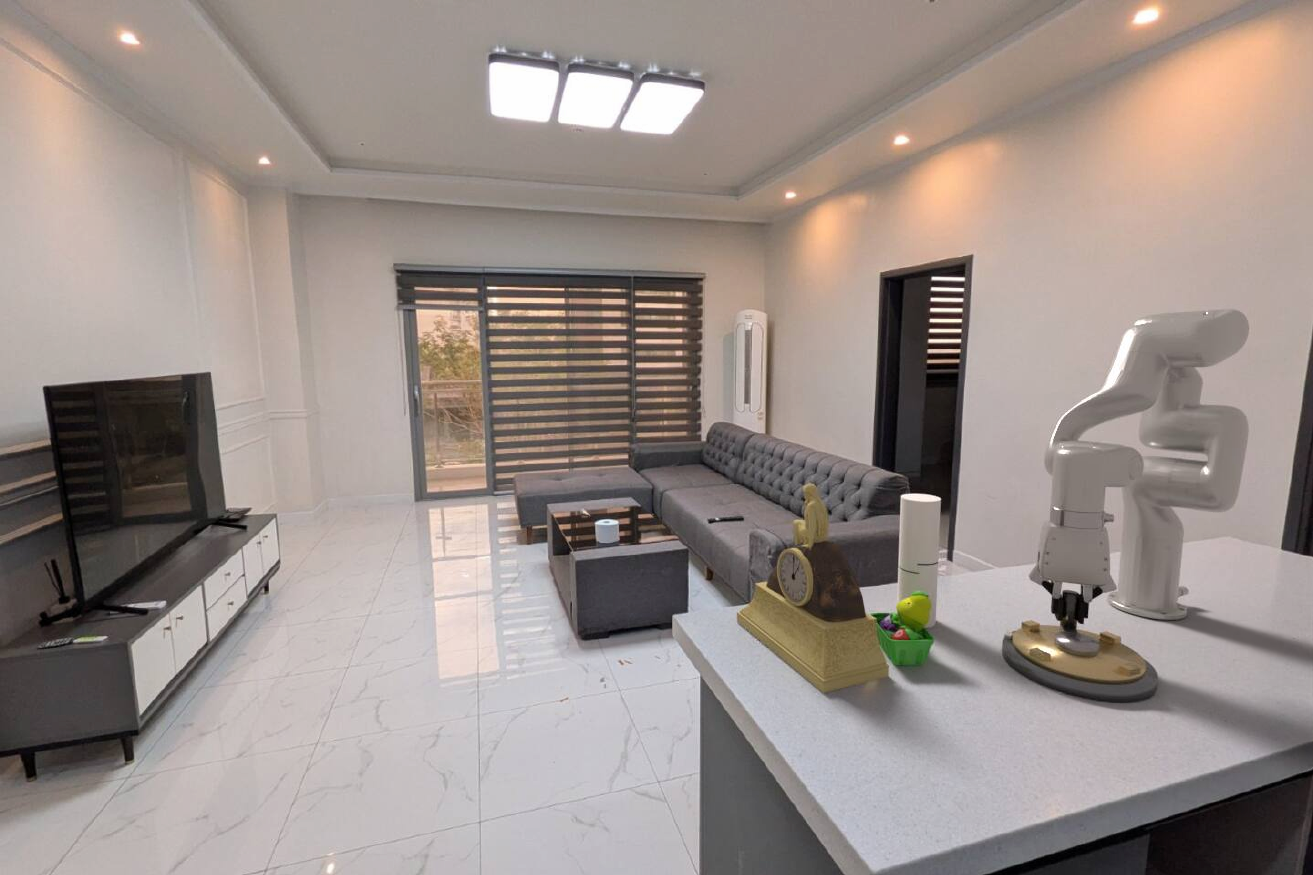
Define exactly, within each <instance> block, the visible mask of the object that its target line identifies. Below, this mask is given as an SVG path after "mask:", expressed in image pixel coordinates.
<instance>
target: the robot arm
mask: <svg viewBox="0 0 1313 875" xmlns="http://www.w3.org/2000/svg"><path fill="white" fill-rule="evenodd" d="M1249 324H1250V323H1249V320H1248V318H1247V317H1246V315H1245V314H1244V313H1243V312H1242V311H1240V310H1238V309H1235V308H1234V309H1233V308H1231V309H1230V308H1227V309H1225V308H1223V309H1212V310H1211V309H1209V310H1198V311H1197V310H1195V311H1194V310H1193V311H1178V312H1166V313H1158V314H1157V313H1156V314H1150V315H1147V316H1143V317H1140V318H1138V319H1136V320H1135V321H1134V322H1133V323H1132V324H1131V326H1130V327H1129V328H1127V329H1126V330H1125V331H1124V332H1123V333H1122V335H1121V337H1120V338H1119V340H1118V343H1117V346H1116V348H1115V350H1114V354H1113V355H1112V358H1111V360H1110V363H1109V366H1108V367H1107V370H1106V374H1105V375H1104V377H1103V380H1102V383H1101V385H1100V388H1099V389H1098V390H1096V391H1095V392H1094V393H1092V394H1091V395H1088V396H1087V397H1085V398H1083V399H1081V401H1079V402H1078V403H1076V404H1075V405H1074V406H1072V407H1071V408H1070V409H1069V410H1068V411H1066V412H1065V413H1064V414H1063V415H1062V416H1061V417H1060V419H1059V420H1058V421H1057V423H1056V425H1055V426H1054V428H1053V431H1052V433H1051V435H1050V438H1049V440H1048V443H1047V445H1046V449H1045V452H1044V458H1043V461H1044V464H1043V465H1044V468H1045V470H1046V472H1047V474H1048V475H1050V476H1051V477H1052V478H1051V480H1052V481H1051V494H1050V510H1049V512H1050V513H1049V520H1045V521H1044V522H1043V525H1042V527H1041V531H1040V535H1039V540H1038V541H1039V542H1038V546H1037V547H1038V548H1037V555H1036V564H1035V566H1034V567H1033V568H1032V570H1031V571H1030V572H1029V574H1028V578H1029V580H1030V581H1031V582H1032V583H1035V584H1037V585H1039V586H1042V587H1043V588H1044V589H1045V590H1046V591H1047V593H1049V594H1050V595H1051V603H1050V605H1051V606H1050V612H1051V615H1054V616H1055V619H1056V621H1057V622H1060V621H1062V619H1063V605H1064V600H1063V598H1062V587H1063V583H1067V584H1075V585H1080V587H1079V589H1080V590H1079V591H1080V593H1079V603H1078V616H1077V624H1079V625H1084V624H1085V619H1089V610H1090V609H1089V608H1090V603H1091V602H1093V600H1094V599H1096V598H1098V597H1099V596H1101V595H1102V594H1104V593H1105V594H1107V593H1108V594H1107V599H1106V600H1107V602H1108V604H1109V605H1111V606H1112V607H1114V608H1116V609H1118V610H1120V611H1123V612H1125V613H1129V614H1132V615H1136V616H1138V617H1143V618H1149V619H1155V620H1161V621H1163V620H1164V621H1165V620H1167V621H1175V620H1176V621H1177V620H1182V619H1185V618H1186V617H1187V615H1188V611H1187V608H1186V607H1185V606H1184V605H1183V604H1180V603H1179V602H1178V600H1179V598H1180V597H1183V596H1188V594H1189V591H1190V590H1189V589H1188V588H1187V587H1186V586H1183V585H1181V586H1180V577H1181V566H1182V557H1183V544H1184V534H1185V529H1184V525H1183V523H1182V521H1181V518H1180V517H1179V516H1178V515H1177V513H1176V512H1175V510H1174V509H1173V508H1180V509H1181V508H1182V509H1189V510H1193V511H1194V510H1195V511H1201V512H1208V513H1225V512H1228V511H1230V510H1231V509H1232V508H1233V507H1234V505H1235V504H1236V502H1237V499H1238V497H1239V492H1240V486H1241V481H1242V477H1243V476H1242V474H1243V471H1244V470H1243V469H1244V464H1245V459H1246V454H1247V453H1246V452H1247V448H1248V441H1249V433H1250V432H1249V421H1248V418H1247V416H1246V414H1245V413H1244V411H1242V410H1241V409H1239V408H1238V407H1235V406H1230V405H1222V404H1220V405H1219V404H1201V396H1202V389H1203V383H1204V382H1203V377H1202V375H1201V374H1200V372H1199V371H1198V370H1197V368H1208V367H1213V366H1216V365H1218V364H1219V363H1221V362H1223V361H1226V360H1227V359H1228V358H1230V357H1232V356H1234V355H1236V354H1237V353H1238V352H1239V351H1240V350H1242V349H1243V347H1244V346H1245V345H1246V342H1247V339H1248V336H1249V334H1250V332H1249V331H1250V325H1249ZM1139 413H1141V415H1140V421H1139V428H1138V438H1139V442H1140V443H1141V444H1142V445H1144V446H1145V447H1147V448H1150V449H1155V450H1161V451H1169V452H1180V453H1191V454H1201V455H1206V457H1207V460H1197V459H1186V458H1178V457H1172V456H1169V457H1168V456H1159V455H1142V454H1141V453H1140V452H1139V451H1138V450H1137V449H1135V448H1134V447H1132V446H1129V445H1124V444H1120V443H1118V444H1117V443H1108V442H1107V443H1106V442H1099V441H1086V440H1079V439H1080V438H1081V437H1082V436H1083V435H1084V434H1085V433H1086V432H1088V431H1089V430H1091V429H1093V428H1094V427H1096V426H1099V425H1101V424H1104V423H1107V422H1110V421H1114V420H1117V419H1121V418H1124V417H1125V418H1126V417H1128V416H1132V415H1136V414H1139ZM1106 488H1121V492H1122V493H1121V494H1122V500H1123V502H1122V503H1123V504H1122V505H1123V516H1122V517H1123V518H1122V532H1121V541H1120V552H1119V553H1120V554H1119V555H1120V556H1119V557H1120V558H1119V566H1118V567H1119V569H1118V578H1117V580H1118V581H1117V582H1118V583H1117V585H1116V582H1115V581H1114V579H1113V577H1112V575H1111V552H1110V551H1111V550H1110V540H1109V534H1108V529H1107V527H1105V525H1106V523H1107V524H1108V523H1114V521H1115V515H1114V514H1112V513H1111V514H1110V513H1107V512H1106V511H1105V502H1106V501H1105V500H1106ZM1172 507H1173V508H1172ZM1116 590H1117V591H1116Z"/></svg>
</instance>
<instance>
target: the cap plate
mask: <svg viewBox="0 0 1313 875" xmlns="http://www.w3.org/2000/svg"><path fill="white" fill-rule="evenodd" d="M1015 631H1016V630H1014V631H1006V632H1005V634H1004V635H1003V639H1002V643H1001V644H1002V645H1001V655H1002V658H1003V660H1004V662H1005V663H1006V664H1007V665H1008V666H1009V667H1010V668H1011V669H1013V671H1015V672H1017V674H1019V675H1020V676H1022V677H1024V678H1025V679H1028V680H1029V681H1031V682H1032V683H1035V684H1038V685H1040V686H1042V687H1045V688H1046V689H1049V690H1053V691H1055V692H1058V693H1060V694H1065V695H1068V696H1071V697H1075V698H1080V699H1084V700H1090V701H1096V702H1102V703H1111V704H1112V703H1113V704H1114V703H1115V704H1130V703H1131V704H1134V703H1139V702H1144V701H1146V700H1149V699H1151V698H1152V697H1154V695H1156V693H1157V690H1158V680H1159V676H1158V672H1157V670H1156V668H1155V667H1154V666H1153V665H1152V663H1150V662H1149V661H1148V660H1146V659H1145V658H1143V659H1144V661H1145V663H1146V673H1145V676H1144V677H1143V679H1141V680H1139V681H1137V682H1134V683H1129V684H1100V683H1093V682H1087V681H1082V680H1077V679H1073V678H1069V677H1066V676H1062V675H1059V674H1056V673H1053V672H1050V671H1048V670H1046V669H1043V668H1041V667H1039V666H1037V665H1035V664H1033V663H1031V662H1029V661H1028V660H1026V659H1025V658H1023V657H1022V656H1021V655H1019V654H1018V653H1017V652H1016V650H1015V649H1014V647H1013V634H1014V632H1015Z"/></svg>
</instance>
